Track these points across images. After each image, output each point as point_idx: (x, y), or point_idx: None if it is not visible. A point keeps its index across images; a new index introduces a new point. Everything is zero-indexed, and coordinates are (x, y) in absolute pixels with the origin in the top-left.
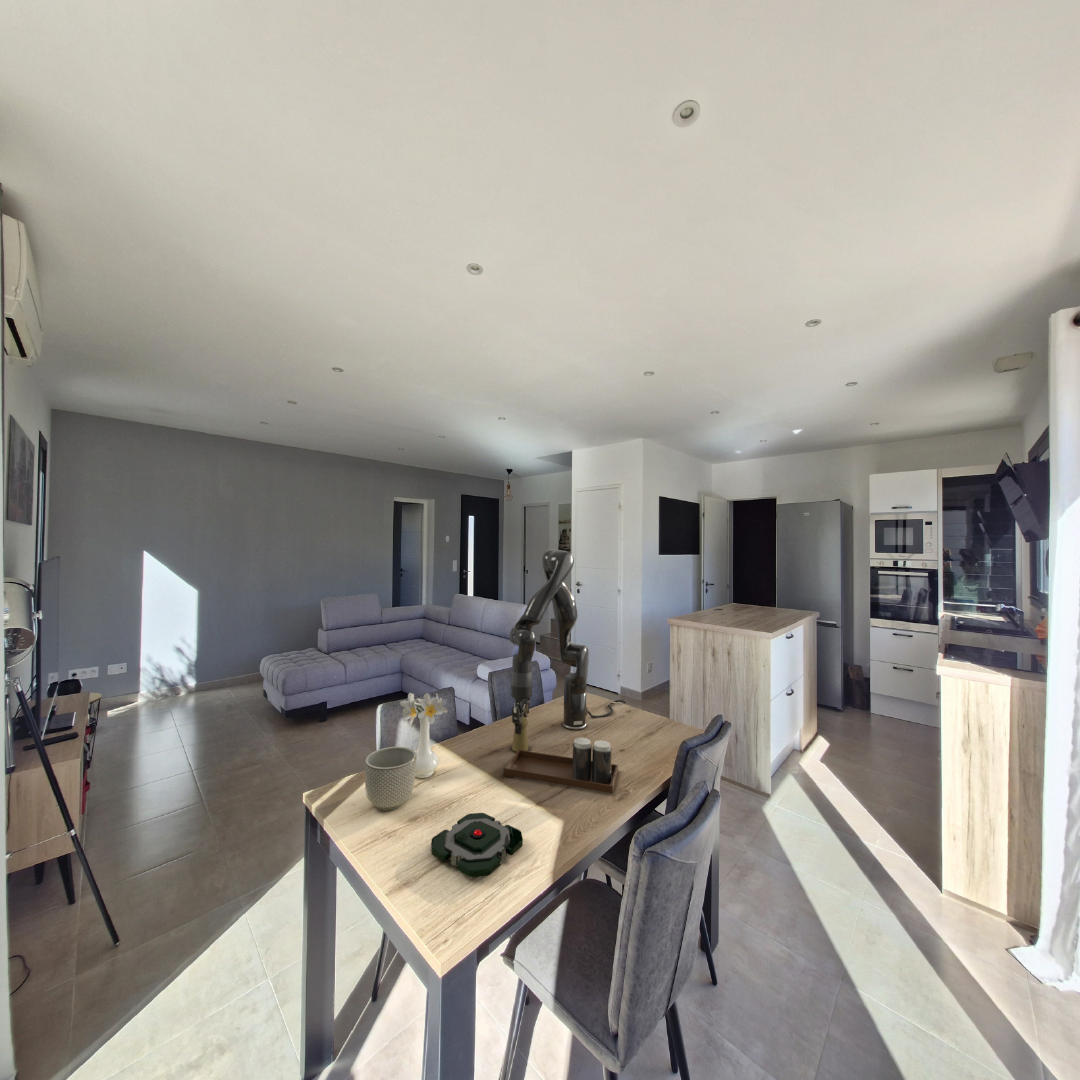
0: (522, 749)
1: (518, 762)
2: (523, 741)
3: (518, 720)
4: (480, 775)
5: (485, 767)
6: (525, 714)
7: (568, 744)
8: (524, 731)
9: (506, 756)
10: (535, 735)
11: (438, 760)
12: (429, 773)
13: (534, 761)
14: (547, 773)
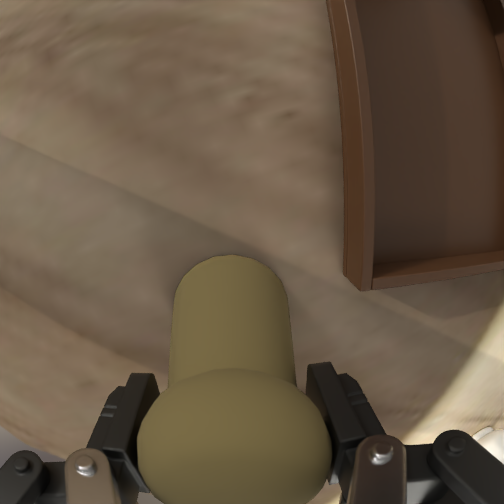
0: (277, 283)
1: (426, 239)
2: (273, 305)
3: (489, 457)
4: (500, 333)
5: (458, 354)
6: (117, 496)
7: (50, 52)
8: (265, 350)
9: (354, 335)
10: (22, 287)
11: (491, 448)
12: (490, 431)
13: (390, 149)
14: (463, 63)
